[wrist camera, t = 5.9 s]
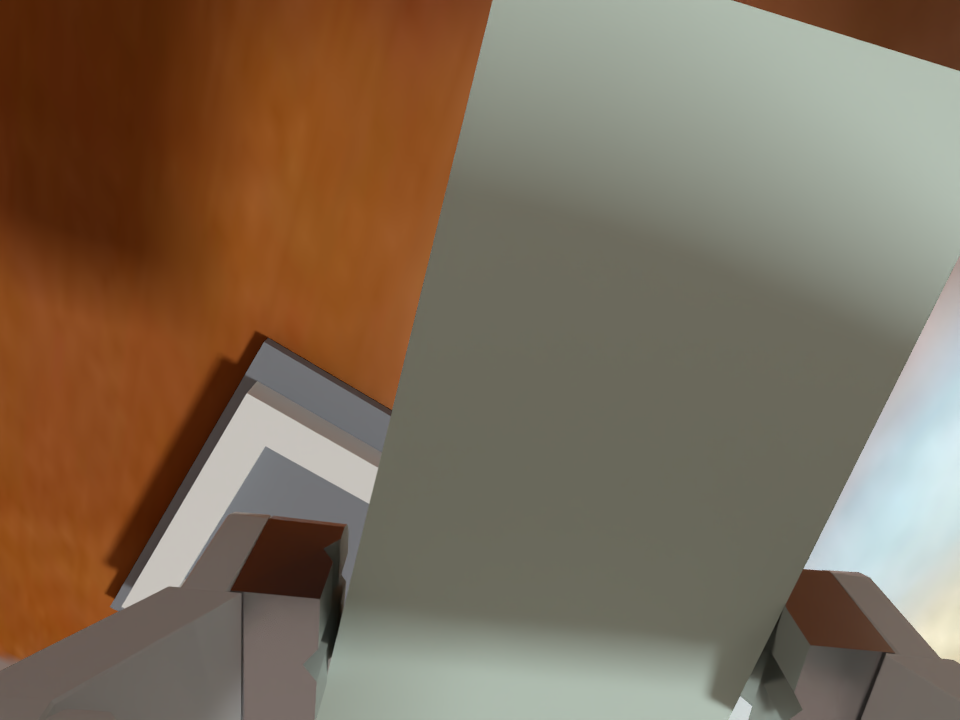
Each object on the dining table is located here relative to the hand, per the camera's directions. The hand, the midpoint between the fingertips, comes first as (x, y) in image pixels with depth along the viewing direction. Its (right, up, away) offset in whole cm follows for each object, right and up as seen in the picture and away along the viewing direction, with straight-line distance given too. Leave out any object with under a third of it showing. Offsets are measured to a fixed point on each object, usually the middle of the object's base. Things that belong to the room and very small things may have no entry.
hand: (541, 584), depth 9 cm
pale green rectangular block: (0, +1, +2) cm, 2 cm away
